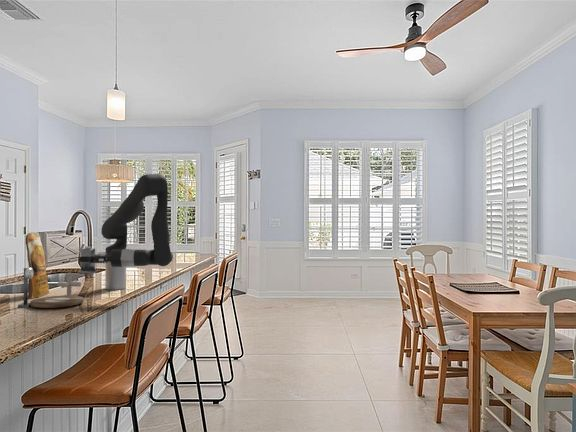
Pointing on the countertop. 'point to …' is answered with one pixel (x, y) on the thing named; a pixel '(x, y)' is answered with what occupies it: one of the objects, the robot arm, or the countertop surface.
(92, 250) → the grey canister
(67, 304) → the disc
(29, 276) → the dial stand
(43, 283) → the pancake mix bag
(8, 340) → the countertop surface
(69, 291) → the pipe connector
